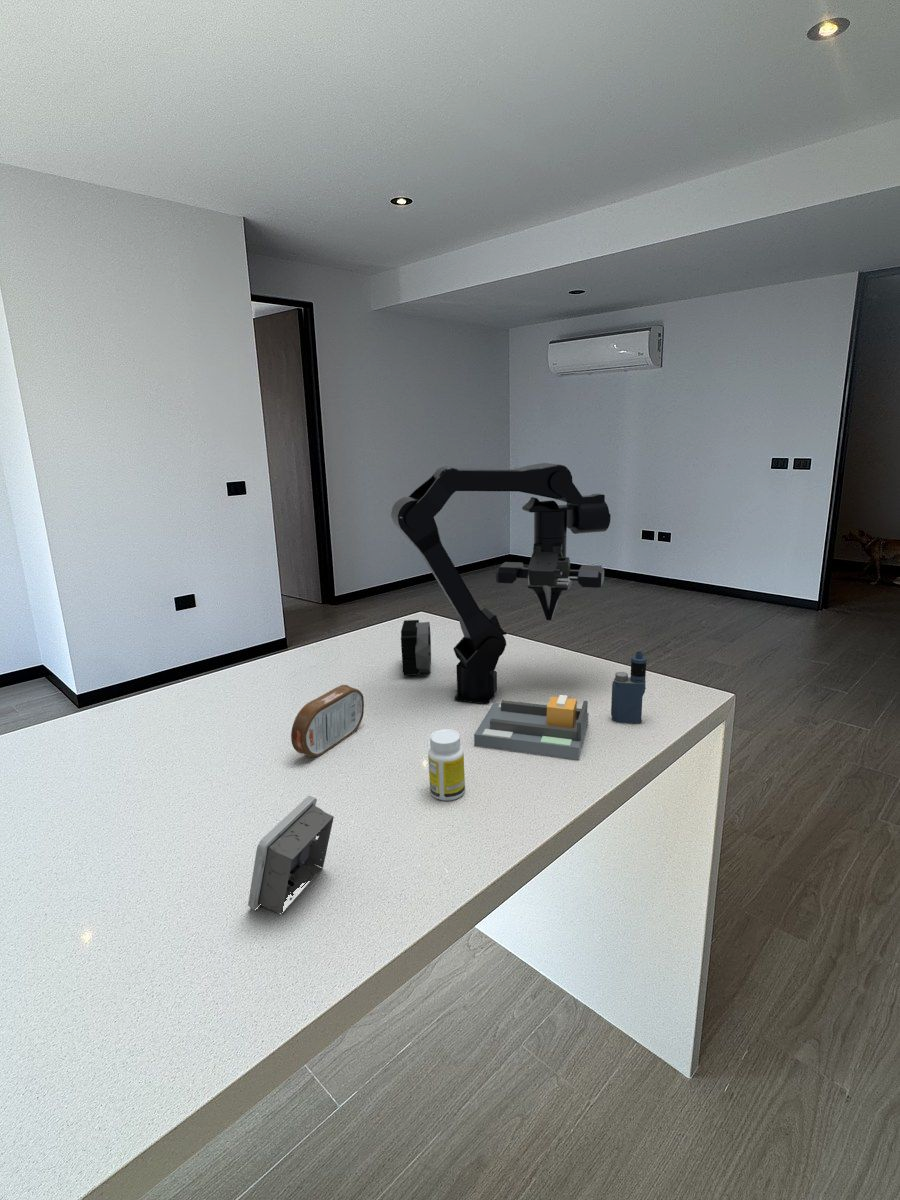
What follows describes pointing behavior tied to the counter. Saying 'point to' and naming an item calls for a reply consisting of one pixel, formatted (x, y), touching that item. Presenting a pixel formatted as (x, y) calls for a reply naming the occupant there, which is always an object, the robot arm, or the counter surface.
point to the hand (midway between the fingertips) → (549, 619)
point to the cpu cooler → (416, 647)
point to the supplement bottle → (446, 765)
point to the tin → (327, 720)
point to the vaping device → (629, 692)
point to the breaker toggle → (562, 711)
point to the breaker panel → (530, 730)
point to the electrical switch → (290, 855)
